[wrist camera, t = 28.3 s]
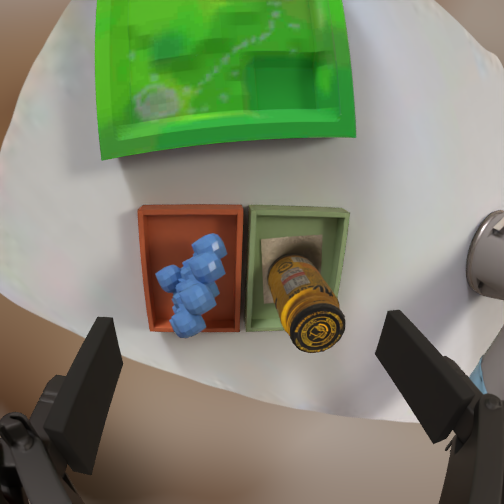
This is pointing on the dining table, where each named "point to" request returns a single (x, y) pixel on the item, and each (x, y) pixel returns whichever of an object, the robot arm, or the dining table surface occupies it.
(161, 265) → the terracotta tray
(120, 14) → the tray
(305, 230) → the green tray
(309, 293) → the condiment
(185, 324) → the grapes
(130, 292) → the dining table surface
